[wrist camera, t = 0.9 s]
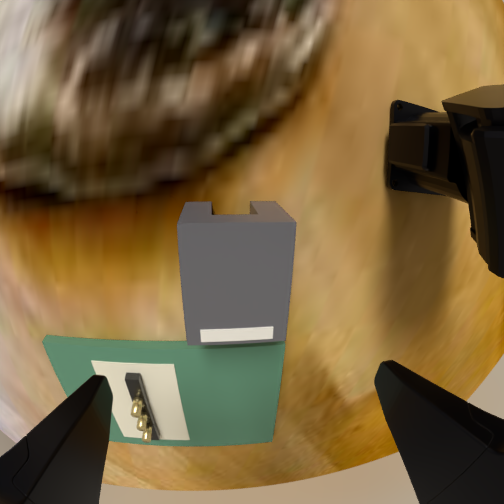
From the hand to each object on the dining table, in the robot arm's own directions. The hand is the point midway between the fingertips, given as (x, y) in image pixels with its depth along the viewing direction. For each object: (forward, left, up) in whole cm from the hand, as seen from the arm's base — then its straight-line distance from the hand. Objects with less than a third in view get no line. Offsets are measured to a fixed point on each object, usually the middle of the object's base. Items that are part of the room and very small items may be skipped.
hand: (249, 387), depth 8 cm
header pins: (+8, +14, -11) cm, 20 cm away
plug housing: (0, 0, -12) cm, 12 cm away
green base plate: (+6, +14, -12) cm, 19 cm away
